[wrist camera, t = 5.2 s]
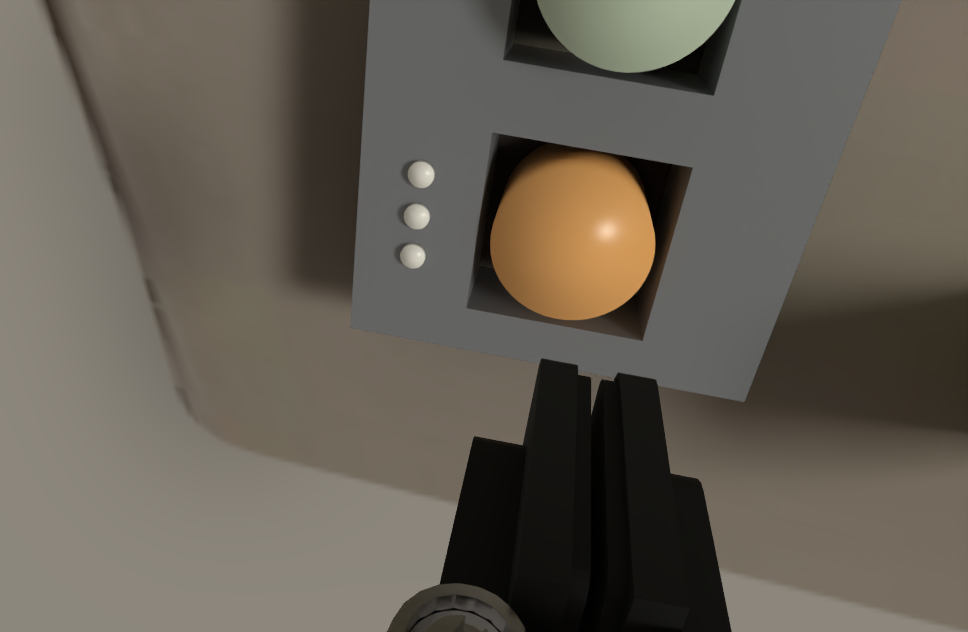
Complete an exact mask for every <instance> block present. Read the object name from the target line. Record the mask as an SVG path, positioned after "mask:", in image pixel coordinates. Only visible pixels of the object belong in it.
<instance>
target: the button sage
mask: <svg viewBox="0 0 968 632" xmlns="http://www.w3.org/2000/svg"><path fill="white" fill-rule="evenodd" d="M537 2H538V5H539V8H540V10H541V13H542V15H543V18H544V19H545V21H546V23H547V25H548V26H549V28H550V30H551V31H552V32H553V34H554V35H555V36H556V38H557V39H558V40H559V41H560V42H561V43H562V44H563V45H564V46H565V47H566V48H567V49H568V50H569V51H570V52H572V53H573V54H574V55H575V56H577V57H578V58H580V59H582V60H584V61H585V62H587V63H589V64H591V65H594V66H596V67H599V68H602V69H606V70H610V71H615V72H625V73H632V72H644V71H650V70H655V69H658V68H661V67H664V66H667V65H669V64H672V63H674V62H676V61H678V60H680V59H682V58H683V57H685V56H687V55H688V54H690V53H692V52H693V51H694V50H695V49H697V48H698V47H699V46H701V45H702V44H703V43H704V42H705V41H706V40H707V39H708V38H709V37H710V36H711V35H712V34H713V33H714V32H715V31H716V29H717V28H718V27H719V26H720V25H721V23H722V22H723V21H724V19H725V17H726V16H727V14H728V13H729V11H730V10H731V8H732V6H733V4H734V2H735V0H537Z"/></svg>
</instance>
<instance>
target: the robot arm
mask: <svg viewBox="0 0 968 632" xmlns="http://www.w3.org/2000/svg"><path fill="white" fill-rule="evenodd" d="M387 632H731V627H730V622H729V617H728V612H727V607H726V602H725V597H724V592H723V587H722V582H721V577H720V571H719V566H718V561H717V556H716V551H715V546H714V541H713V536H712V531H711V526H710V521H709V516H708V511H707V506H706V501H705V496H704V491H703V488H702V485H701V482H700V481H699V480H698V479H696V478H691V477H685V476H680V475H675V474H670V467H669V460H668V453H667V446H666V439H665V432H664V426H663V419H662V412H661V405H660V398H659V391H658V384H657V381H656V380H655V379H651V378H646V377H641V376H635V375H630V374H624V373H619V372H618V373H617V374H616V377H615V379H614V382H613V381H608V380H603V379H602V380H601V382H600V385H599V388H598V392H597V396H596V400H595V403H594V407H593V411H592V415H591V378H590V377H586V376H581V375H578V365H576V364H570V363H565V362H559V361H554V360H549V359H543V358H541V360H540V364H539V369H538V374H537V378H536V383H535V388H534V393H533V398H532V403H531V408H530V412H529V417H528V422H527V427H526V432H525V437H524V442H523V445H518V444H512V443H507V442H502V441H497V440H492V439H486V438H481V437H476V436H474V438H473V442H472V446H471V450H470V455H469V459H468V463H467V468H466V472H465V476H464V481H463V485H462V489H461V494H460V498H459V502H458V507H457V511H456V515H455V520H454V524H453V529H452V533H451V537H450V542H449V546H448V550H447V555H446V559H445V563H444V568H443V572H442V576H441V581H440V584H439V585H436V586H433V587H431V588H428V589H425V590H422V591H420V592H418V593H417V594H416V595H414V596H413V597H412V598H410V599H409V600H408V601H406V602H405V603H404V604H403V605H402V607H401V608H400V610H399V611H398V613H397V614H396V616H395V617H394V618H393V620H392V622H391V624H390V627H389V629H388V631H387Z"/></svg>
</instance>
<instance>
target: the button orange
mask: <svg viewBox="0 0 968 632" xmlns="http://www.w3.org/2000/svg"><path fill="white" fill-rule="evenodd" d="M490 250H491V257H492V263H493V266H494V268H495V271H496V274H497V276H498V278H499V280H500V281H501V283H502V284H503V286H504V287H505V289H506V290H507V291H508V292H509V293H510V294H511V295H512V296H513V297H514V298H515V299H516V300H517V301H518V302H519V303H521V304H522V305H524V306H525V307H527V308H528V309H530V310H532V311H534V312H536V313H538V314H541V315H544V316H547V317H551V318H555V319H562V320H583V319H589V318H594V317H598V316H601V315H604V314H606V313H608V312H611V311H613V310H615V309H616V308H618V307H619V306H621V305H623V304H624V303H625V302H627V301H628V300H629V299H630V298H631V297H632V296H633V295H634V294H635V293H636V292H637V291H638V290H639V289H640V287H641V286H642V284H643V283H644V281H645V280H646V278H647V276H648V274H649V272H650V269H651V266H652V263H653V259H654V254H655V233H654V228H653V224H652V220H651V215H650V211H649V206H648V202H647V198H646V193H645V189H644V186H643V183H642V180H641V178H640V176H639V174H638V173H637V171H636V169H635V168H634V167H633V165H632V164H631V163H630V162H629V161H628V160H627V159H626V158H625V157H624V156H623V155H618V154H612V153H607V152H601V151H595V150H590V149H584V148H578V147H572V146H567V145H561V144H555V143H548V144H545V145H543V146H541V147H539V148H537V149H536V150H534V151H532V152H531V153H530V154H528V155H527V156H526V157H525V158H524V159H523V160H522V161H521V162H520V163H519V164H518V165H517V166H516V168H515V169H514V170H513V172H512V173H511V175H510V177H509V179H508V181H507V183H506V186H505V189H504V192H503V195H502V198H501V201H500V204H499V207H498V210H497V214H496V217H495V220H494V223H493V227H492V231H491V239H490Z"/></svg>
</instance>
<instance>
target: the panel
mask: <svg viewBox="0 0 968 632" xmlns="http://www.w3.org/2000/svg"><path fill="white" fill-rule="evenodd" d="M901 1H902V0H735V2H734V4H733V6H732V8H731V10H730V11H729V13H728V14H727V16H726V17H725V19H724V21H723V22H722V23H721V25H720V26H719V27H718V28H717V29H716V31H715V32H714V33H713V34H712V35H711V36H710V37H709V38H708V39H707V41H706V44H705V48H704V51H703V55H702V59H701V62H700V66H699V70H698V73H697V74H691V73H685V72H679V71H673V70H667V69H662V68H658V69H655V70H650V71H644V72H632V73H625V72H615V71H610V70H606V69H602V68H599V67H596V66H594V65H591V64H589V63H587V62H585V61H584V60H582V59H580V58H578V57H577V56H575V55H574V54H573V53H567V52H561V51H556V50H550V49H544V48H538V47H532V46H526V45H520V44H514V38H515V31H516V25H517V18H518V12H519V5H520V0H370V5H369V22H368V39H367V56H366V73H365V90H364V106H363V123H362V140H361V157H360V174H359V191H358V207H357V224H356V241H355V258H354V275H353V292H352V308H351V325H350V328H354V329H359V330H364V331H370V332H375V333H380V334H385V335H391V336H396V337H401V338H407V339H412V340H417V341H423V342H428V343H433V344H438V345H444V346H449V347H454V348H460V349H465V350H470V351H476V352H481V353H486V354H492V355H497V356H502V357H507V358H513V359H518V360H523V361H529V362H534V363H539V364H540V360H541V358H543V359H549V360H554V361H559V362H565V363H570V364H576V365H578V371H582V372H587V373H592V374H598V375H603V376H608V377H614V378H615V377H616V374H617V373H618V372H619V373H624V374H630V375H635V376H641V377H646V378H651V379H655V380H656V381H657V384H658V386H661V387H667V388H672V389H677V390H683V391H688V392H693V393H698V394H704V395H709V396H714V397H720V398H725V399H730V400H736V401H741V402H745V400H746V397H747V395H748V392H749V389H750V387H751V384H752V382H753V379H754V377H755V374H756V371H757V369H758V366H759V364H760V361H761V359H762V356H763V354H764V351H765V348H766V346H767V343H768V341H769V338H770V336H771V333H772V331H773V328H774V325H775V323H776V320H777V318H778V315H779V313H780V310H781V308H782V305H783V302H784V300H785V297H786V295H787V292H788V290H789V287H790V285H791V282H792V279H793V277H794V274H795V272H796V269H797V267H798V264H799V261H800V259H801V256H802V254H803V251H804V249H805V246H806V244H807V241H808V238H809V236H810V233H811V231H812V228H813V226H814V223H815V221H816V218H817V215H818V213H819V210H820V208H821V205H822V203H823V200H824V198H825V195H826V192H827V190H828V187H829V185H830V182H831V180H832V177H833V175H834V172H835V169H836V167H837V164H838V162H839V159H840V157H841V154H842V151H843V149H844V146H845V144H846V141H847V139H848V136H849V134H850V131H851V128H852V126H853V123H854V121H855V118H856V116H857V113H858V111H859V108H860V105H861V103H862V100H863V98H864V95H865V93H866V90H867V88H868V85H869V82H870V80H871V77H872V75H873V72H874V70H875V67H876V64H877V62H878V59H879V57H880V54H881V52H882V49H883V47H884V44H885V41H886V39H887V36H888V34H889V31H890V29H891V26H892V24H893V21H894V18H895V16H896V13H897V11H898V8H899V6H900V3H901ZM500 134H504V135H510V136H515V137H521V138H527V139H533V140H538V141H544V142H550V143H555V144H561V145H567V146H572V147H578V148H584V149H590V150H595V151H601V152H607V153H612V154H618V155H624V156H629V157H635V158H641V159H647V160H652V161H658V162H664V163H669V164H672V167H671V171H670V175H669V178H668V182H667V185H666V189H665V193H664V196H663V200H662V204H661V207H660V211H659V214H658V218H657V222H656V225H655V229H654V233H655V254H654V259H653V263H652V266H651V269H650V272H649V274H648V276H647V278H646V280H645V281H644V283H643V284H642V286H641V287H640V289H639V290H638V291H637V294H636V295H633V296H632V297H631V298H630V299H629V300H628V301H627V302H625V303H624V304H623V305H621V306H619V307H618V308H616V309H615V310H613V311H611V312H608V313H606V314H604V315H601V316H598V317H594V318H589V319H583V320H562V319H555V318H551V317H547V316H544V315H541V314H538V313H536V312H534V311H532V310H530V309H528V308H527V307H525V306H524V305H522V304H521V303H519V302H518V301H517V300H516V299H515V298H514V297H513V296H512V295H511V294H510V293H509V292H508V291H507V290H506V289H505V287H504V286H503V284H502V283H501V281H500V280H499V278H498V276H497V274H496V271H495V269H491V268H485V267H480V260H481V253H482V247H483V240H484V234H485V227H486V220H487V214H488V207H489V201H490V194H491V188H492V181H493V175H494V168H495V162H496V155H497V149H498V142H499V136H500Z"/></svg>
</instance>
